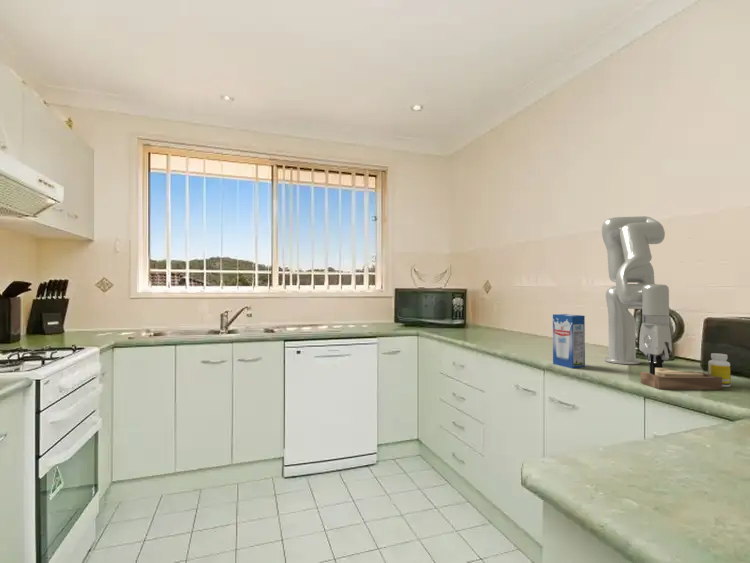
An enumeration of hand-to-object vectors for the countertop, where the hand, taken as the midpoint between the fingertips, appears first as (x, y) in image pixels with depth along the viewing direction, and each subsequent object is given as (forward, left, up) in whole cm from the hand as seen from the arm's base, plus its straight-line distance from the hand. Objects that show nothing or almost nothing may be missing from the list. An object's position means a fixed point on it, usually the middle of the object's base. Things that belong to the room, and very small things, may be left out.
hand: (656, 374), depth 137 cm
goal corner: (+11, 0, -1) cm, 11 cm away
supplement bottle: (+10, +13, -2) cm, 16 cm away
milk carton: (-22, -19, -2) cm, 29 cm away
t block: (+7, 0, -1) cm, 7 cm away
